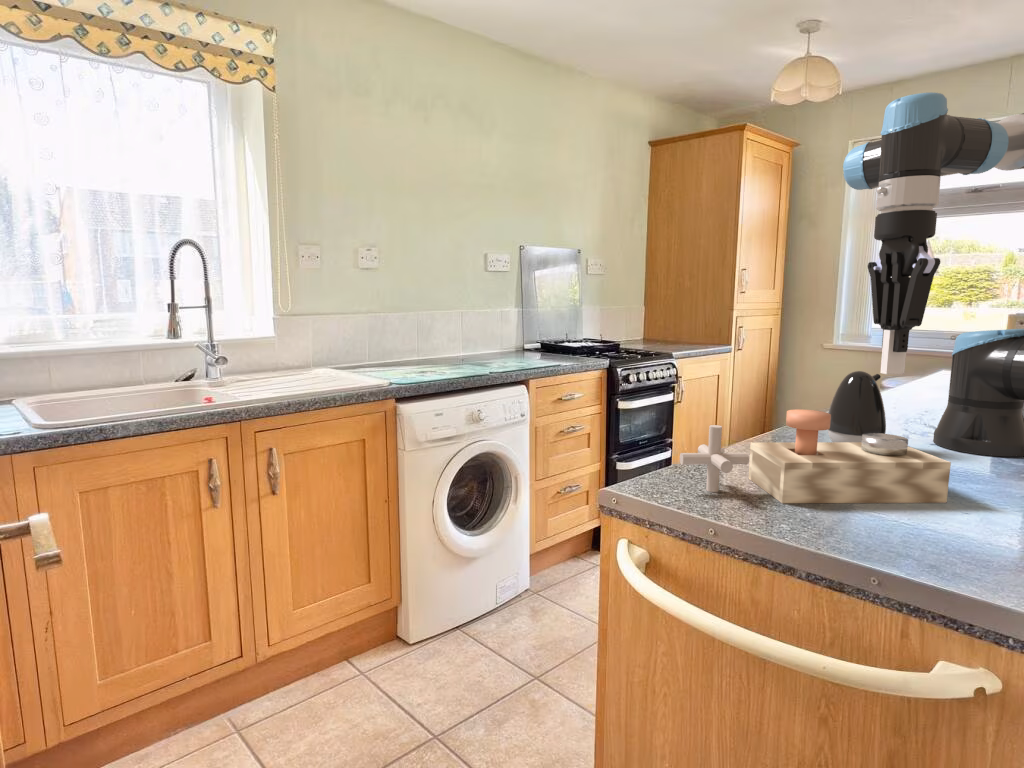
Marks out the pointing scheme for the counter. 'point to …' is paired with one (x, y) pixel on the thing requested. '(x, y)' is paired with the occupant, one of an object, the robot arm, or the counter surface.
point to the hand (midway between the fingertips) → (892, 373)
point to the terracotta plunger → (807, 428)
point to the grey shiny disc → (884, 444)
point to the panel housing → (847, 474)
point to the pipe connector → (714, 458)
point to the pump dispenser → (857, 408)
